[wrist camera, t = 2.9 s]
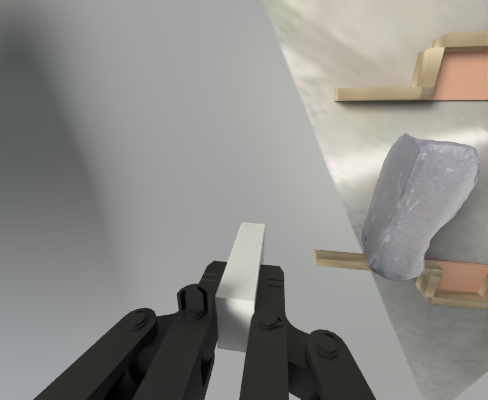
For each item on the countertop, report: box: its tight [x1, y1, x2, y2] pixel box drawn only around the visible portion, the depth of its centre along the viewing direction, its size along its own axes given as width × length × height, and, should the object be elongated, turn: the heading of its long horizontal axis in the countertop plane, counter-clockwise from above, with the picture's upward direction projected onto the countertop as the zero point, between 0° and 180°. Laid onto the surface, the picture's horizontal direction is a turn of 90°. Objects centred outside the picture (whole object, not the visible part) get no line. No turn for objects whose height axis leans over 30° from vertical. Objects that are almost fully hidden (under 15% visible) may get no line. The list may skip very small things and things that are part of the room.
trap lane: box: [314, 31, 488, 310], centre depth 23 cm, size 28×24×4 cm
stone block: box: [362, 134, 480, 280], centre depth 21 cm, size 12×5×10 cm, turn 169°
